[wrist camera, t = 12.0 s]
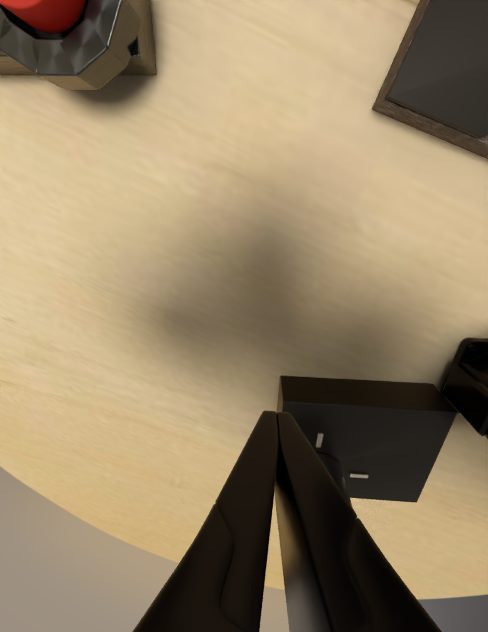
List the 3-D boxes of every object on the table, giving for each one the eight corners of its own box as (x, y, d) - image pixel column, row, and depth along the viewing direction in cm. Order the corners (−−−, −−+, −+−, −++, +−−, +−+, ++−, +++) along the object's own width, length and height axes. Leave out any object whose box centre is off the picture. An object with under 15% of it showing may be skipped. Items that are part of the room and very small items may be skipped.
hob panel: (433, 383, 21) (459, 413, 19) (396, 478, 26) (413, 514, 23) (264, 374, 22) (264, 401, 19) (258, 469, 27) (257, 502, 24)
